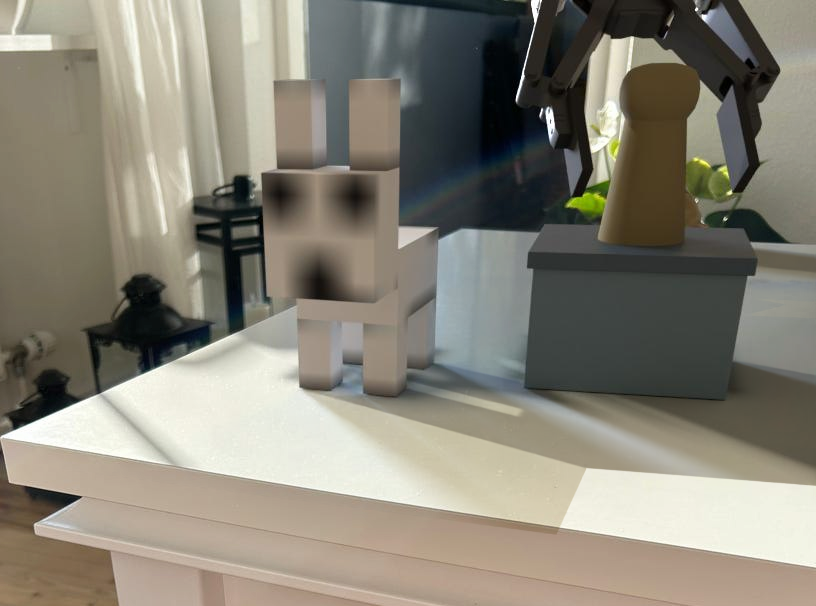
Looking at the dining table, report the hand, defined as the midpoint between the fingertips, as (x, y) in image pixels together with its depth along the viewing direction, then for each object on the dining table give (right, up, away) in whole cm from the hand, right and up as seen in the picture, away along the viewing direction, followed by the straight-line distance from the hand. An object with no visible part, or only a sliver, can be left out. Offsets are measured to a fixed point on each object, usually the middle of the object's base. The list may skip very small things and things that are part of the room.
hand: (664, 181), depth 69 cm
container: (0, -10, +9) cm, 14 cm away
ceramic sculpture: (+16, +15, +52) cm, 56 cm away
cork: (0, -2, +5) cm, 5 cm away
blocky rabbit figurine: (-20, -11, +9) cm, 24 cm away
